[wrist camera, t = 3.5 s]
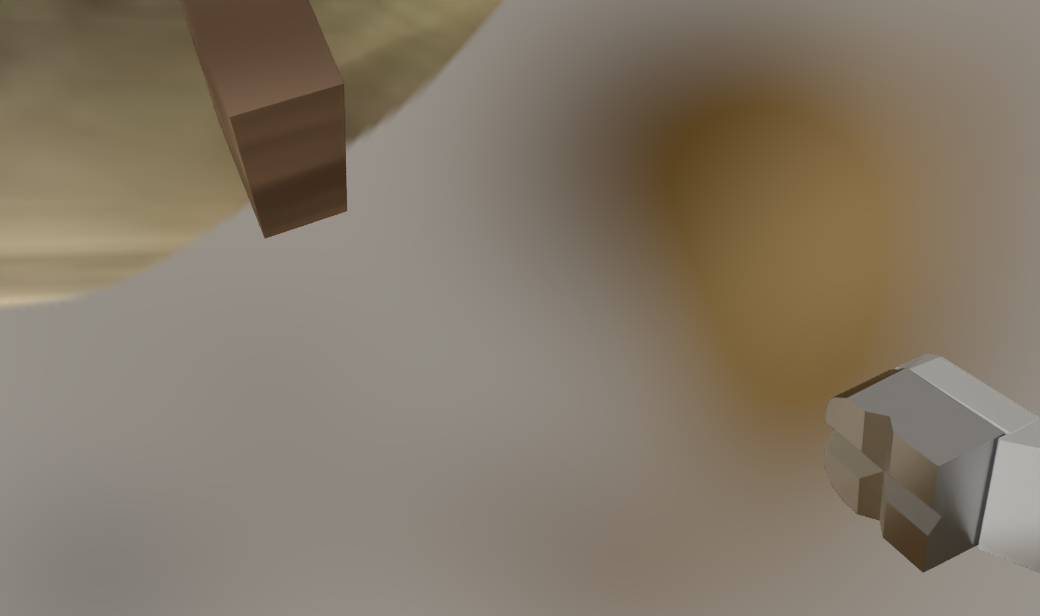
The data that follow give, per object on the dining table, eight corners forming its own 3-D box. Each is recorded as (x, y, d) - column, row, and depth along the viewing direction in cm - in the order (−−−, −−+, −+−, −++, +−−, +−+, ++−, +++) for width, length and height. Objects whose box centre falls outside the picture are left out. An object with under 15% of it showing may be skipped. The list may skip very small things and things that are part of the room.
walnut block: (347, 211, 26) (343, 83, 19) (264, 238, 25) (229, 116, 18) (299, 95, 27) (279, -70, 20) (218, 119, 26) (166, -43, 19)
